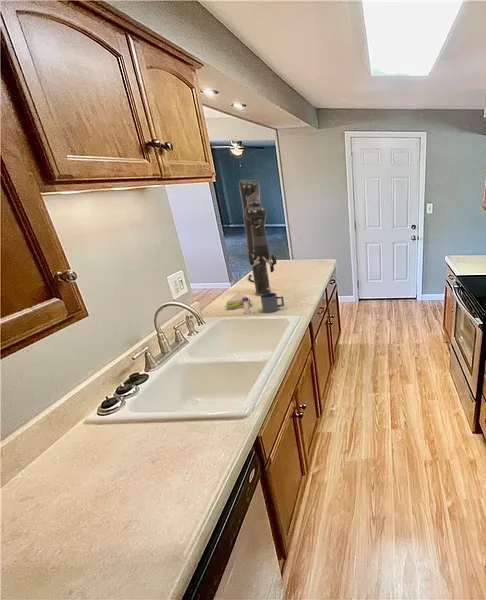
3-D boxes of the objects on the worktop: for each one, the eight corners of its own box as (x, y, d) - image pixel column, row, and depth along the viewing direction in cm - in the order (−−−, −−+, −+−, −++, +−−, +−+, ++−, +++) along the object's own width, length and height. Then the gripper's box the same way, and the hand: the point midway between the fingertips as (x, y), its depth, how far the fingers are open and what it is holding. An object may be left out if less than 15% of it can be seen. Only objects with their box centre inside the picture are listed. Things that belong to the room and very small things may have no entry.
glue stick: (244, 312, 195) (241, 297, 192) (249, 311, 197) (246, 296, 194) (245, 314, 193) (243, 299, 190) (251, 312, 195) (248, 297, 192)
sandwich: (256, 297, 220) (255, 290, 218) (251, 308, 202) (250, 300, 200) (231, 299, 216) (230, 292, 215) (224, 310, 199) (222, 302, 197)
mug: (261, 313, 194) (259, 298, 191) (264, 307, 203) (262, 293, 199) (283, 311, 197) (281, 296, 193) (285, 306, 205) (283, 292, 202)
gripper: (275, 242, 185) (279, 270, 191) (250, 242, 185) (254, 270, 191) (270, 245, 178) (274, 273, 184) (244, 245, 178) (249, 273, 184)
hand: (264, 272), depth 187 cm, fingers open, 8 cm apart
